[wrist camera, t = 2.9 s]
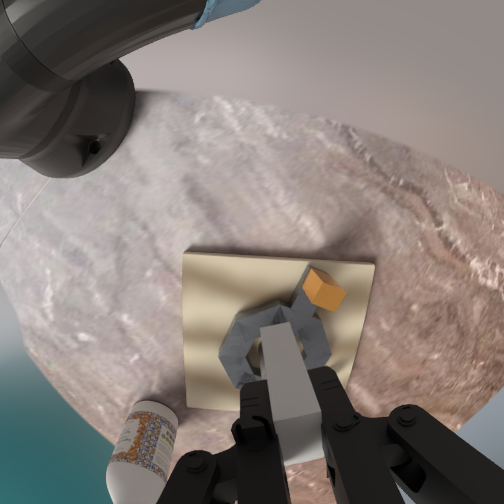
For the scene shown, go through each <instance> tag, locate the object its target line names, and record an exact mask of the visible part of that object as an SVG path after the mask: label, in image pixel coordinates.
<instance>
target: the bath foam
mask: <svg viewBox="0 0 504 504" xmlns="http://www.w3.org/2000/svg"><path fill="white" fill-rule="evenodd" d="M177 428H178V419H177V417H176V415H175V414H174V412H173V411H172V410H170V409H169V408H168V407H166V406H165V405H163V404H160V403H158V402H154V401H141V402H138V403H136V404H135V405H134V406H133V407H132V409H131V411H130V413H129V416H128V418H127V420H126V422H125V425H124V427H123V429H122V432H121V434H120V437H119V439H118V442H117V444H116V447H115V449H114V452H113V454H112V457H111V459H110V462H109V464H108V468H107V473H106V482H107V487H108V490H109V493H110V496H111V498H112V500H113V503H114V504H156V502H157V501H158V499H159V497H160V495H161V493H162V491H163V489H164V487H165V485H166V482H167V477H168V472H169V467H170V462H171V457H172V453H173V448H174V443H175V438H176V433H177Z"/></svg>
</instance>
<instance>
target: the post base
mask: <svg viewBox="0 0 504 504" xmlns="http://www.w3.org/2000/svg"><path fill="white" fill-rule="evenodd" d="M307 264H308V265H311V266H313V267H315V268H318V269H320V270H322V271H324V272H327V273H328V274H329V275H330V276H331V277H332V278H333V279H334V280H335V281H336V282H337V283H338V284H339V285H340V286H341V287H342V288H343V289H344V290H345V291H346V292H347V293H346V295H345V296H344V298H343V300H342V302H341V304H340V306H339V307H338V309H337V311H336V313H335V312H333V311H330V310H327V309H325V308H322V307H320V306H318V307H317V308H316V310H315V312H314V313H317V314H318V316H319V317H320V319H321V321H322V324H323V327H324V331H325V334H326V337H327V340H328V344H329V347H330V350H331V354H332V355H331V357H330V358H329V360H328V361H327V363H326V365H327V366H329V367H330V368H332V369H333V370H335V372H336V374H337V376H338V378H339V380H340V382H341V384H342V386H343V388H344V390H345V389H346V386H347V383H348V380H349V376H350V373H351V370H352V366H353V363H354V359H355V355H356V352H357V348H358V344H359V340H360V336H361V332H362V328H363V324H364V319H365V315H366V310H367V306H368V301H369V296H370V291H371V286H372V280H373V275H374V269H375V265H374V264H372V263H371V262H354V261H337V260H320V259H304V258H287V257H271V256H254V255H238V254H222V253H206V252H190V251H185V252H184V253H183V271H182V302H183V345H184V368H185V386H186V400H187V407H190V408H200V409H213V410H228V411H240V390H239V389H236V388H235V387H234V385H233V383H232V382H231V380H230V378H229V376H228V374H227V373H226V371H225V369H224V367H223V365H222V363H221V362H220V360H219V358H218V353H219V348H220V346H221V344H222V342H223V340H224V337H225V335H226V333H227V331H228V329H229V327H230V325H231V323H232V321H233V319H234V316H235V314H237V313H240V312H243V311H246V310H249V309H251V308H254V307H257V306H260V305H262V304H265V303H268V302H271V301H273V300H276V299H281V300H283V301H286V302H289V300H290V298H291V296H292V294H293V292H294V290H295V288H296V286H297V284H298V282H299V280H300V278H301V276H302V274H303V272H304V270H305V268H306V266H307ZM295 339H296V342H297V345H298V347H299V350H300V353H302V351H303V349H304V348H303V345H302V342H301V339H300V338H299V337H296V336H295ZM247 355H248V357H249V359H250V361H251V363H252V365H253V367H256V368H259V369H261V377H262V380H265V379H267V375H266V368H265V361H264V354H263V347H262V340H261V337H259V338H256V339H255V340H254V342H253V344H252V346H251V348H250V350H249V351H248V353H247ZM326 365H325V366H326Z"/></svg>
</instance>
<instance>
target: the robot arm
mask: <svg viewBox="0 0 504 504" xmlns="http://www.w3.org/2000/svg"><path fill="white" fill-rule="evenodd" d="M260 1H261V0H0V158H1V159H19V160H20V161H22V162H23V163H25V164H26V165H28V166H29V167H31V168H32V169H34V170H35V171H37V172H38V173H40V174H42V175H44V176H48V177H52V178H74V177H79V176H82V175H85V174H87V173H89V172H91V171H93V170H94V169H96V168H97V167H99V166H100V165H101V164H102V163H104V162H105V161H106V160H107V159H108V158H109V157H110V156H111V155H112V153H113V152H114V151H115V150H116V148H117V147H118V146H119V144H120V143H121V141H122V139H123V138H124V136H125V134H126V132H127V130H128V127H129V125H130V122H131V119H132V116H133V111H134V105H135V88H134V83H133V79H132V77H131V74H130V73H129V71H128V69H127V68H126V66H124V64H123V63H122V62H121V61H120V60H119V58H120V57H122V56H124V55H126V54H129V53H130V52H133V51H135V50H137V49H139V48H141V47H143V46H145V45H148V44H150V43H153V42H155V41H157V40H159V39H162V38H165V37H167V36H170V35H172V34H175V33H178V32H181V31H184V30H187V29H191V30H193V29H197V28H200V27H202V26H203V25H204V24H205V23H207V22H210V21H213V20H215V19H218V18H221V17H224V16H227V15H231V14H234V13H237V12H241V11H244V10H247V9H249V8H251V7H253V6H255V5H256V4H258V3H259V2H260ZM260 333H261V340H262V347H263V354H264V361H265V368H266V375H267V379H265V380H259V381H254V382H248V383H244V385H243V387H242V388H241V390H240V418H238V419H237V420H236V421H235V422H234V423H233V425H232V428H231V432H232V434H233V437H234V440H235V442H236V444H235V445H234V446H232V447H231V448H230V449H228V450H225V451H223V452H220V453H217V454H214V455H212V454H211V453H209V452H207V451H203V450H194V451H191V452H188V453H186V454H185V455H183V456H182V457H181V458H180V459H179V460H178V462H177V464H176V466H175V468H174V470H173V472H172V473H171V475H170V477H169V479H168V481H167V483H166V485H165V487H164V489H163V491H162V493H161V495H160V497H159V499H158V501H157V502H156V504H235V501H236V500H238V504H291V499H290V493H289V487H288V481H287V476H286V472H285V465H291V464H296V463H301V462H306V461H310V460H315V459H319V458H323V457H324V455H325V458H326V462H327V478H330V481H331V485H332V488H333V492H334V495H335V499H336V502H337V504H405V502H404V500H403V498H402V496H401V494H400V491H399V489H398V487H397V485H398V486H399V487H401V489H402V490H403V491H404V492H405V493H406V494H407V495H408V496H409V497H410V498H411V499H412V500H413V501H414V502H415V503H416V504H504V470H503V469H502V468H500V467H499V466H498V465H496V464H495V463H494V462H492V461H491V460H490V459H488V458H487V457H486V456H484V455H483V454H481V453H480V452H479V451H477V450H476V449H475V448H473V447H472V446H471V445H470V444H468V443H467V442H466V441H464V440H463V439H462V438H460V437H459V436H458V435H456V434H455V433H454V432H452V431H451V430H450V429H448V428H447V427H446V426H445V425H443V424H442V423H441V422H439V421H438V420H437V419H435V418H434V417H433V416H432V415H430V414H429V413H428V412H426V411H425V410H424V409H422V408H421V407H419V406H417V405H412V404H407V405H401V406H399V407H397V408H395V409H394V410H393V411H392V412H391V413H390V415H389V417H379V418H369V417H364V416H362V415H361V414H360V413H358V412H356V411H355V410H354V408H353V406H352V404H351V402H350V400H349V398H348V396H347V394H346V392H345V390H344V388H343V386H342V384H341V382H340V380H339V378H338V376H337V374H336V372H335V370H333V369H332V368H330V367H329V366H327V365H326V366H322V367H318V368H314V369H310V370H306V367H305V364H304V361H303V359H302V356H301V353H300V350H299V347H298V345H297V342H296V339H295V336H294V334H293V331H292V328H291V325H290V323H289V322H286V323H281V324H276V325H271V326H266V327H261V328H260ZM395 482H396V483H397V485H396V483H395Z"/></svg>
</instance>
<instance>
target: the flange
mask: <svg viewBox="0 0 504 504" xmlns="http://www.w3.org/2000/svg"><path fill="white" fill-rule="evenodd" d="M346 293H347V292H346V291H345V290H344V289H343V288H342V287H341V286H340V285H339V284H338V283H337V282H336V281H335V280H334V279H333V278H332V277H331V276H330V275H329V274H328V273H327V272H324V271H322V270H320V269H318V268H315V267H313V266H311V265H308V264H307V266H306V268H305V270H304V272H303V274H302V276H301V278H300V280H299V282H298V284H297V286H296V288H295V290H294V292H293V294H292V296H291V298H290V300H289V302H286V301H283V300H281V299H276V300H273V301H271V302H268V303H265V304H262V305H260V306H257V307H254V308H251V309H249V310H246V311H243V312H240V313H237V314H235V316H234V319H233V321H232V323H231V325H230V327H229V329H228V331H227V333H226V335H225V337H224V340H223V342H222V344H221V346H220V348H219V353H218V358H219V360H220V362H221V363H222V365H223V367H224V369H225V371H226V373H227V374H228V376H229V378H230V380H231V382H232V383H233V385H234V387H235V388H236V389H239V390H241V388H242V387H243V385H244V383H248V382H254V381H259V380H262V377H261V369H259V368H256V367H253V365H252V363H251V361H250V359H249V357H248V355H247V353H248V351H249V350H250V348H251V346H252V344H253V342H254V340H255V339H256V338H259V337H261V333H260V328H261V327H266V326H271V325H276V324H281V323H286V322H289V323H290V325H291V328H292V331H293V334H294V336H296V337H299V338H300V339H301V342H302V345H303V348H304V349H303V351H302V353H301V356H302V359H303V361H304V364H305V367H306V370H310V369H314V368H318V367H322V366H325V365H326V363H327V361H328V360H329V358H330V357H331V355H332V354H331V350H330V347H329V344H328V340H327V337H326V334H325V331H324V327H323V324H322V321H321V319H320V317H319V316H318V314H317V313H314V312H315V310H316V308H317V307H318V306H320V307H322V308H325V309H327V310H330V311H333V312H335V313H336V311H337V309H338V307H339V306H340V304H341V302H342V300H343V298H344V296H345V295H346Z"/></svg>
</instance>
